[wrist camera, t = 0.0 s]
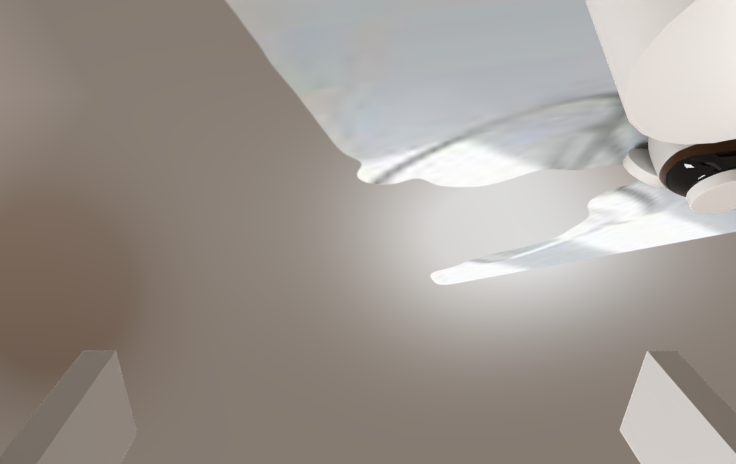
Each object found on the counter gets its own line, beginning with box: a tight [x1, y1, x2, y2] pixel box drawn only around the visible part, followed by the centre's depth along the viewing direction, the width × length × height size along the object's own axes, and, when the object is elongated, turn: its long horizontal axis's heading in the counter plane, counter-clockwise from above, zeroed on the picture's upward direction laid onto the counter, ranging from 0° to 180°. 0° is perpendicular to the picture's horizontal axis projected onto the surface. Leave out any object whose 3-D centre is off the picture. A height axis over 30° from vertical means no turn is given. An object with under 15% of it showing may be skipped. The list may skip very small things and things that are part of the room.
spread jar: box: [623, 137, 736, 214], centre depth 54 cm, size 12×11×12 cm
